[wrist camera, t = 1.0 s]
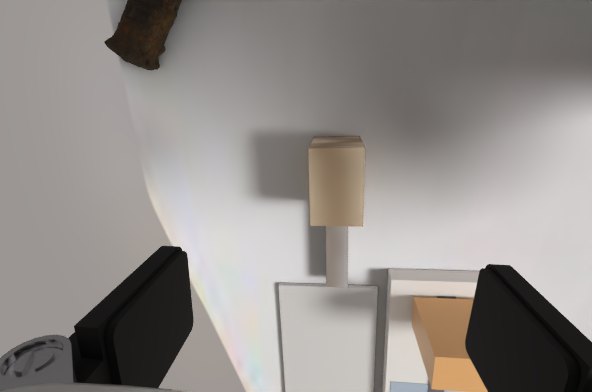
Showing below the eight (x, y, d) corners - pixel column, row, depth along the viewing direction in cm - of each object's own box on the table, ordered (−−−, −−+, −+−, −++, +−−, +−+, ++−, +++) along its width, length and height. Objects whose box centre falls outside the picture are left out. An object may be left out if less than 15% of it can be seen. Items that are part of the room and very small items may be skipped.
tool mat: (377, 285, 33) (377, 288, 32) (372, 406, 38) (372, 410, 37) (279, 282, 34) (278, 285, 34) (286, 399, 39) (286, 402, 39)
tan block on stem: (359, 136, 29) (364, 147, 23) (357, 276, 33) (360, 315, 27) (314, 137, 29) (308, 148, 23) (317, 275, 33) (312, 313, 28)
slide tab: (483, 299, 29) (526, 362, 23) (478, 327, 30) (518, 395, 23) (413, 297, 30) (435, 356, 23) (411, 324, 31) (431, 389, 24)
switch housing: (497, 271, 31) (508, 284, 29) (473, 414, 36) (481, 433, 34) (388, 268, 32) (391, 280, 30) (381, 406, 38) (383, 424, 36)
